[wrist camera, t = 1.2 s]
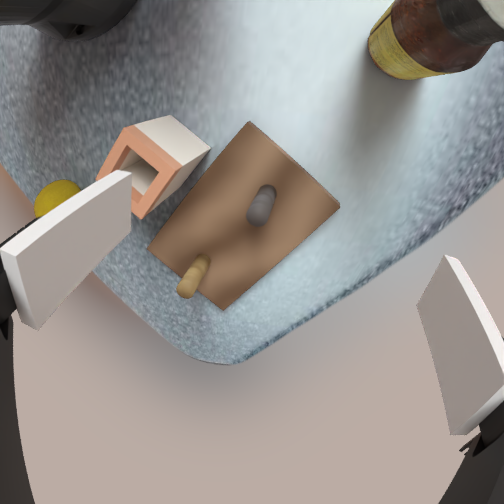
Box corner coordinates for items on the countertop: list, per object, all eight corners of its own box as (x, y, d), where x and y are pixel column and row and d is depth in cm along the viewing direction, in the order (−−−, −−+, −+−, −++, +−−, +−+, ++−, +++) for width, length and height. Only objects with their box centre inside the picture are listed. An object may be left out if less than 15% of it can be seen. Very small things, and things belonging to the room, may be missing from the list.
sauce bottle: (419, 89, 24) (553, 109, 7) (358, 67, 25) (432, 33, 8) (433, 31, 21) (564, -10, 4) (372, 7, 21) (447, -88, 4)
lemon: (59, 174, 36) (17, 196, 29) (89, 169, 35) (46, 191, 28) (69, 213, 38) (31, 239, 32) (99, 210, 37) (60, 239, 30)
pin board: (150, 244, 38) (122, 275, 32) (249, 121, 29) (231, 130, 23) (225, 304, 40) (209, 344, 34) (339, 203, 31) (344, 233, 25)
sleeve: (143, 155, 33) (95, 179, 25) (170, 114, 30) (123, 127, 22) (180, 186, 34) (141, 219, 26) (211, 148, 31) (175, 170, 23)
